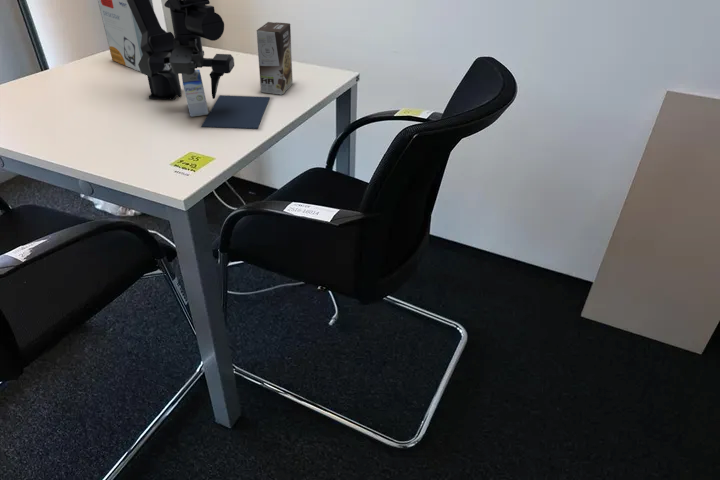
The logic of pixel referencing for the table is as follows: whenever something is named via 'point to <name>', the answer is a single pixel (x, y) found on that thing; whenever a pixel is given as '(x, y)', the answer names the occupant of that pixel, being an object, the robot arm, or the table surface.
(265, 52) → the coffee box
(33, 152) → the table surface
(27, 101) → the table surface
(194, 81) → the medicine box
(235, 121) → the mat
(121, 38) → the hard drive box
